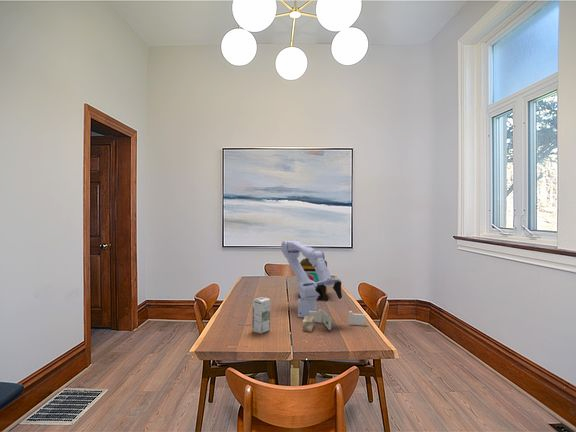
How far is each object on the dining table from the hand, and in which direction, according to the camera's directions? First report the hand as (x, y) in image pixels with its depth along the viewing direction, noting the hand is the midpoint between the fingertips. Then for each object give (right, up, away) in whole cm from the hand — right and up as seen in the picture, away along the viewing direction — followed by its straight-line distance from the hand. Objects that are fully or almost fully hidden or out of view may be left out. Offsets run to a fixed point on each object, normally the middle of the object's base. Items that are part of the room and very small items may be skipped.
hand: (333, 299), depth 155 cm
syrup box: (-33, -13, -4) cm, 36 cm away
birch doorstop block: (-12, -13, 0) cm, 18 cm away
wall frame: (+2, -13, +7) cm, 15 cm away
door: (-4, -13, +2) cm, 13 cm away
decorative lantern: (-5, -12, +56) cm, 57 cm away
